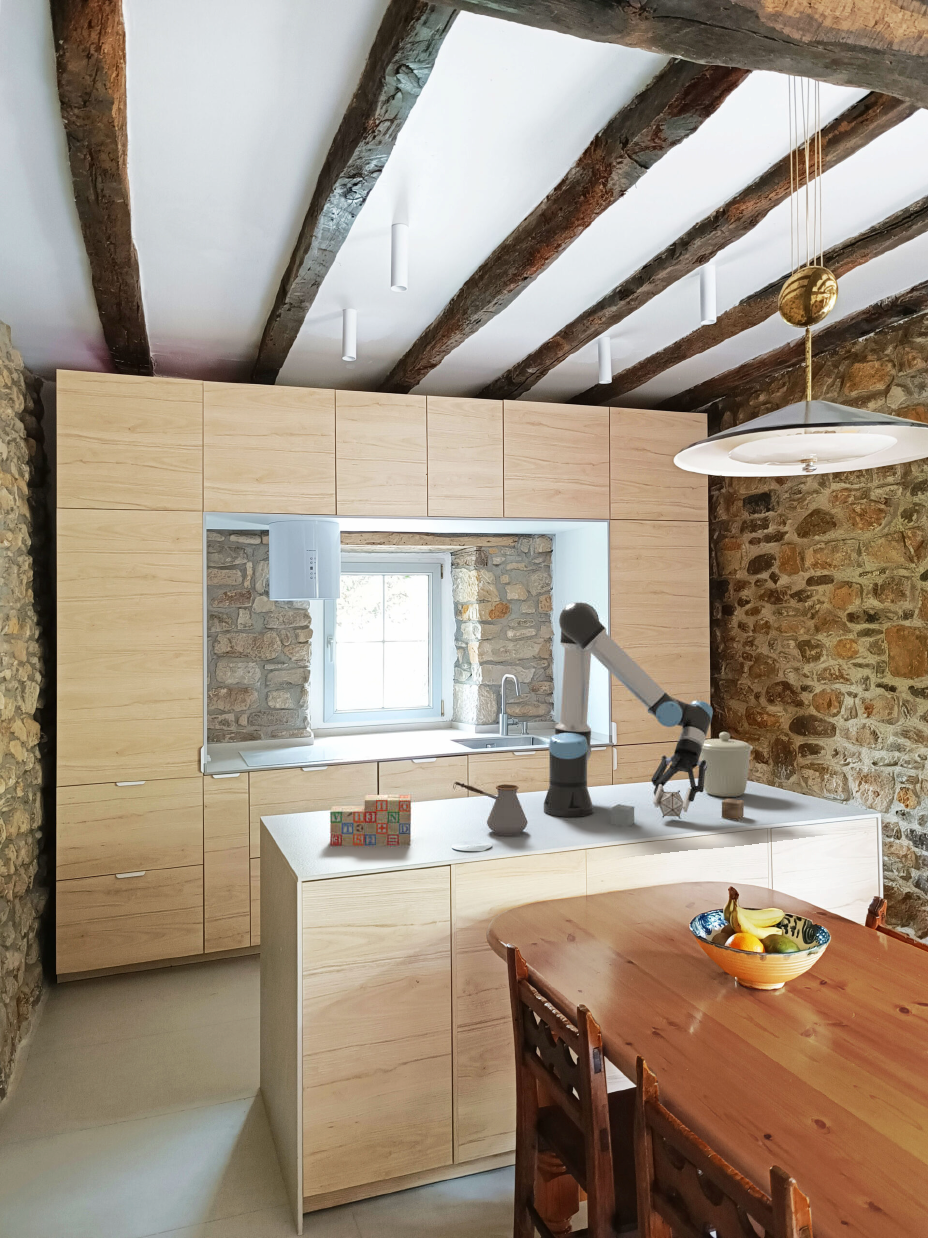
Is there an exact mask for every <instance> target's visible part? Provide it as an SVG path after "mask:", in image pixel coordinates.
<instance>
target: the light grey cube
mask: <svg viewBox="0 0 928 1238" xmlns="http://www.w3.org/2000/svg"><path fill="white" fill-rule="evenodd" d="M610 811H611V814H610V819H611V821H610V824H611V825H613V826H618V827H619V826H620V827H625V826H627V827H626V828H628V827H630V826H632V825H634V824H635V806H634V805H633V806H632V805H626V804H621V803H619V804H615V805H614V806H612V807H611V808H610Z"/></svg>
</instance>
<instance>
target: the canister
mask: <svg viewBox="0 0 928 1238" xmlns="http://www.w3.org/2000/svg"><path fill="white" fill-rule="evenodd" d="M718 736H719V738H711V739H710V738H709V739H705V741H704V744H703V747H702V751H701V754H700V757H699V761H703V760H705V761H706V763H707V766H708V767H707V769H706V771H705V779H704V791H705V792H706V793H707V794H709V795H711V796H715V797H721V798H736V797H741V796H742V795H744V793H745V792H746V788H747V784H748V778H749V769H750V760H751V751H752V750H753V749H754V748H753V746H752V745H750V744H749V743H748V742H746V741H743V740H740V739H739V740H738V739H732V738H731V734H730V733H729V732H728V731H727V732H726V731H722V732H720V733H719V735H718Z"/></svg>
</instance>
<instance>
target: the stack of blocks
mask: <svg viewBox="0 0 928 1238" xmlns="http://www.w3.org/2000/svg"><path fill="white" fill-rule="evenodd" d="M364 797H365V798H364V805H361V806H360V805H357V806H356V805H349V806H348V805H345V806H344V805H339V806H338V805H336V806H335V805H332V808H330V809H331V810H330V811H329V813H330V816H329V818H330V819H329V821H330V824H329V825H330V826H329V827H330V828H329V831H330V832H329V834H330V837H329V838H330V839H329V840H330V842H329V845H330V846H350V847H351V846H359V847H360V846H411V837H412V835H411V834H412V833H411V831H412V828H411V827H412V822H411V821H412V795H410V794H409V795H408V794H407V795H406V794H405V795H404V794H402V795H400V794H366V795H365V796H364Z"/></svg>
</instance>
